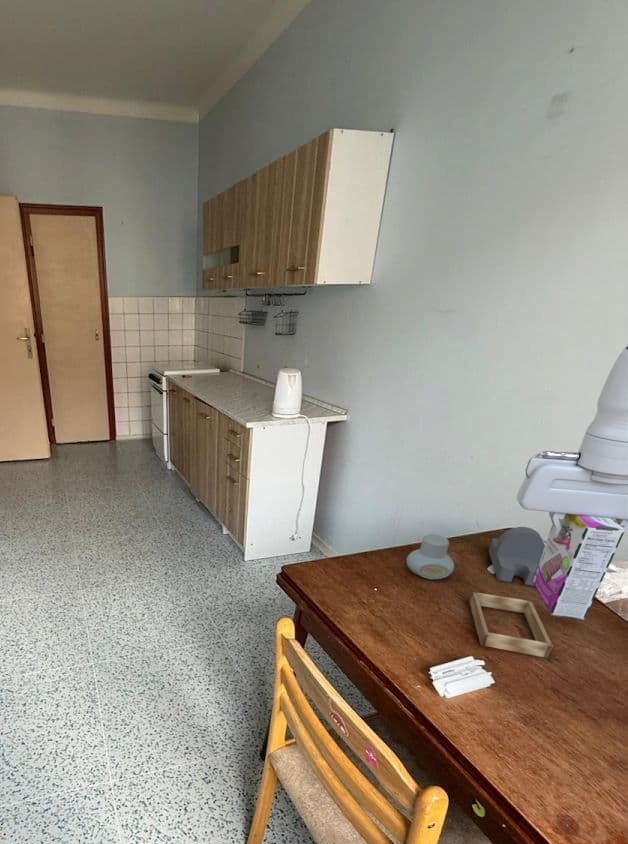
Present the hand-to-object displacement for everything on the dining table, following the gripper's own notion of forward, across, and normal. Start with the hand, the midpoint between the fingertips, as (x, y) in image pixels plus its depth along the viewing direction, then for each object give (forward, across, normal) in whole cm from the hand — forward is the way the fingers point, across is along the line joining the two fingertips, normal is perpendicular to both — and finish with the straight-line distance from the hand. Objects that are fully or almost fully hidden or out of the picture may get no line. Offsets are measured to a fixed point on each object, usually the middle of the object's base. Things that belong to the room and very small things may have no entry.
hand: (580, 539), depth 75 cm
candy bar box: (+12, 0, 0) cm, 12 cm away
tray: (+29, 0, +16) cm, 33 cm away
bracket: (+29, +7, +46) cm, 55 cm away
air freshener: (+29, -14, +35) cm, 48 cm away
